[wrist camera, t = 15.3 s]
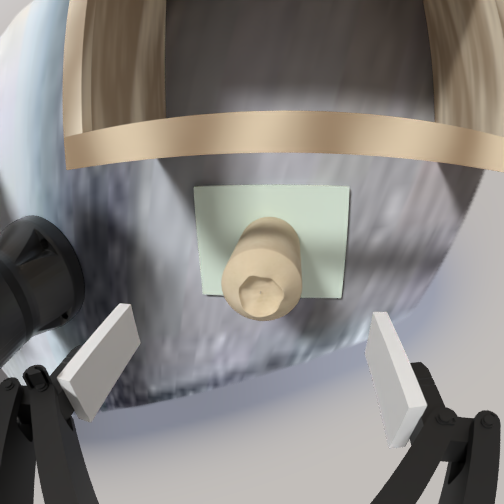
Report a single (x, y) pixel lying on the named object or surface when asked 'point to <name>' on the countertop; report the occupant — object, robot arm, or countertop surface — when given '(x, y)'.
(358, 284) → the countertop surface
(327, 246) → the mat
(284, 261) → the candle
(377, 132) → the access cubby
